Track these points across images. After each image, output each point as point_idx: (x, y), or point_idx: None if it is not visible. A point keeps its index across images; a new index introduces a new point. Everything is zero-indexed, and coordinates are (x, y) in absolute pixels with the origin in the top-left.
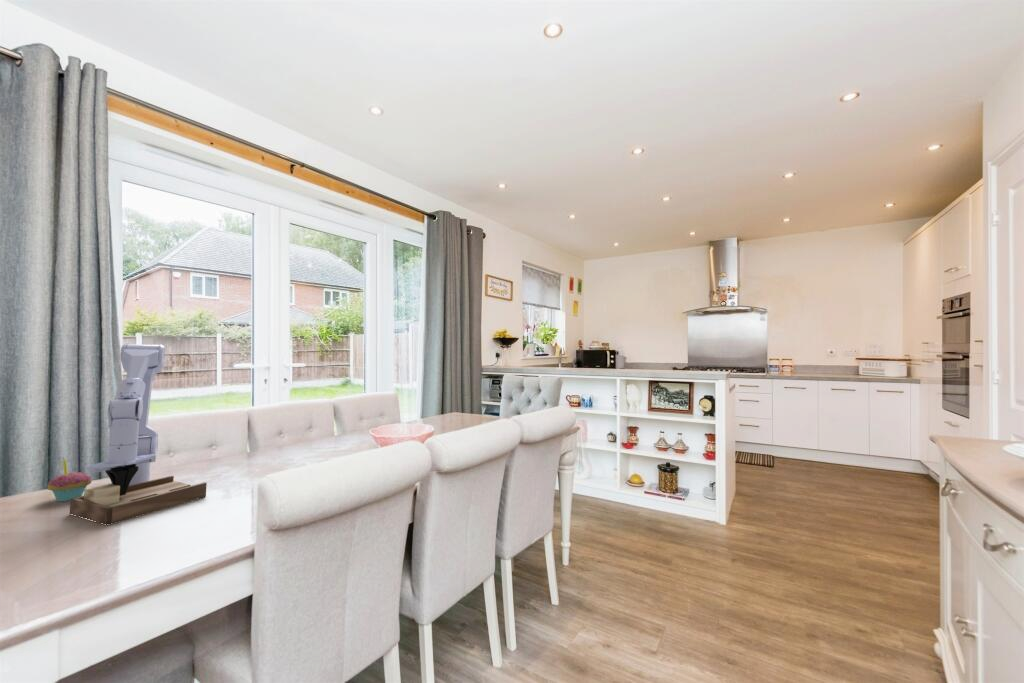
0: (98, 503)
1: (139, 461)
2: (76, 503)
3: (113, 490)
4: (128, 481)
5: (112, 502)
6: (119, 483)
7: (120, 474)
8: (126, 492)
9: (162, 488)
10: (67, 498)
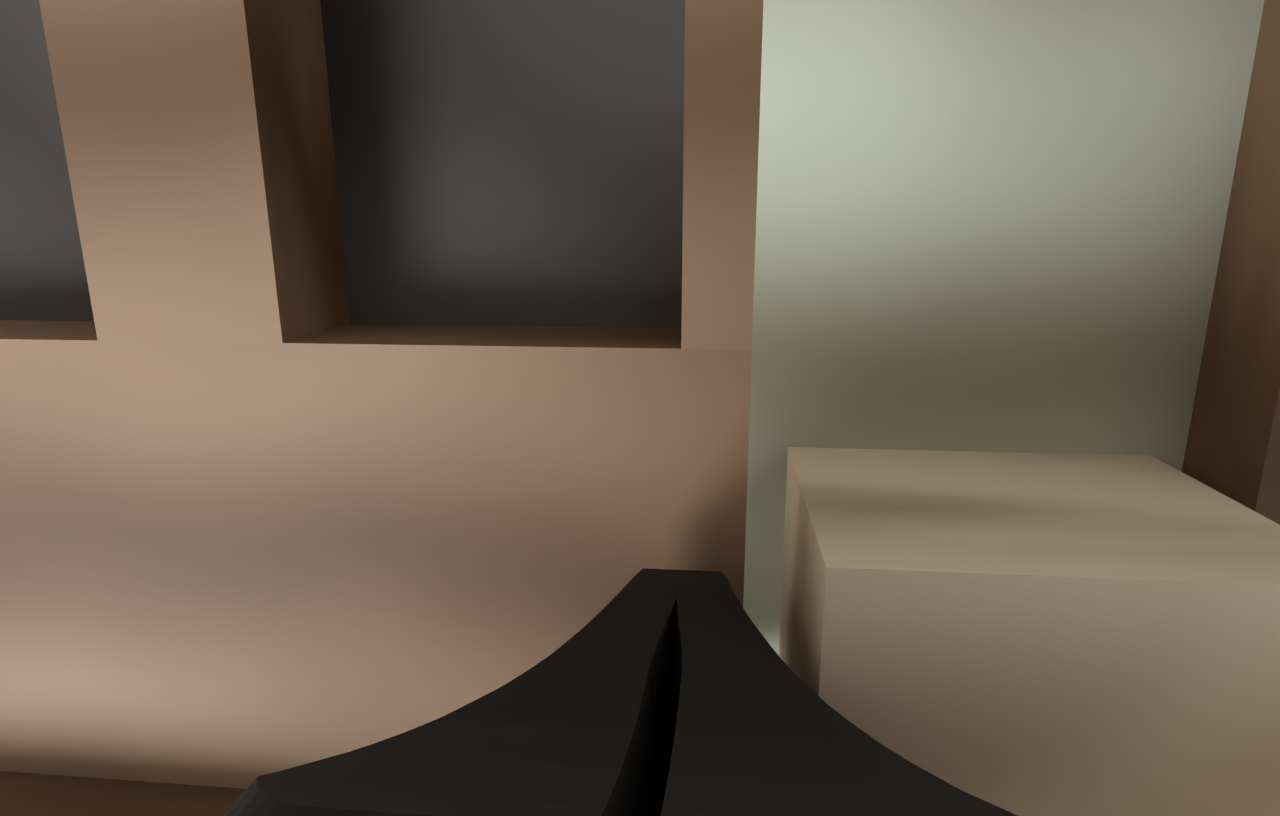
0: (1124, 474)
1: None
2: None
3: (947, 540)
4: (587, 665)
5: (891, 450)
6: (794, 679)
7: (899, 810)
8: None
9: (108, 532)
10: None
